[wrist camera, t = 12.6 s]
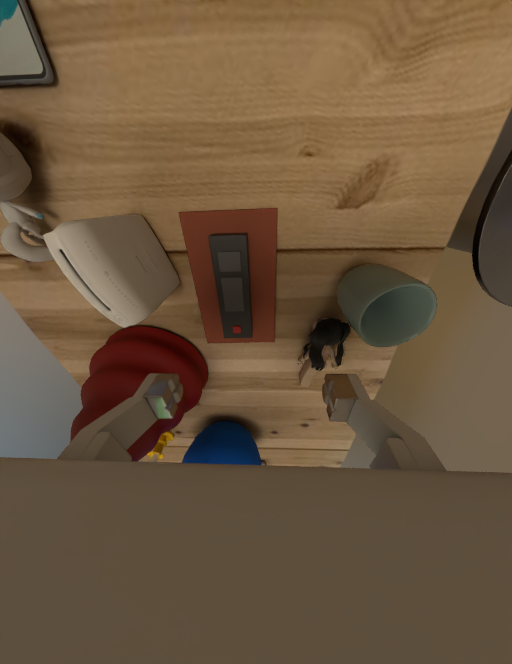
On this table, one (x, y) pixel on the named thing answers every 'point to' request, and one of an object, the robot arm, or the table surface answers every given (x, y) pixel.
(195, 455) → the vase
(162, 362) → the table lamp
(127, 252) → the photo printer
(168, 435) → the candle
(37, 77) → the smartphone
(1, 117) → the table surface
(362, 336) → the cup
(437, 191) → the table surface
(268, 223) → the mat
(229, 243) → the remote
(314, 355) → the toy figure
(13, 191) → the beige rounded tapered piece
